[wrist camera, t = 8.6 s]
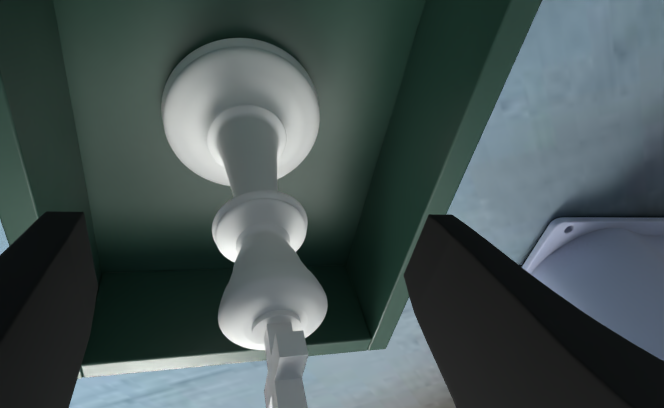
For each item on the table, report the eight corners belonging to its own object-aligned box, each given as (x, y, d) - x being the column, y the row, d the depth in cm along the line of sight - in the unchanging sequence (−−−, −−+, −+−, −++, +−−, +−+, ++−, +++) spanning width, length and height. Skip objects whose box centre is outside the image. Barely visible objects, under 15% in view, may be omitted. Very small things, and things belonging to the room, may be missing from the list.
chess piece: (164, 175, 15) (124, 520, 7) (158, 25, 12) (79, 339, 4) (305, 179, 16) (396, 468, 9) (331, 48, 13) (502, 309, 6)
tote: (484, -141, 12) (605, -138, 8) (355, 266, 21) (386, 349, 17) (-37, -294, 8) (-215, -403, 5) (84, 275, 17) (54, 381, 14)
